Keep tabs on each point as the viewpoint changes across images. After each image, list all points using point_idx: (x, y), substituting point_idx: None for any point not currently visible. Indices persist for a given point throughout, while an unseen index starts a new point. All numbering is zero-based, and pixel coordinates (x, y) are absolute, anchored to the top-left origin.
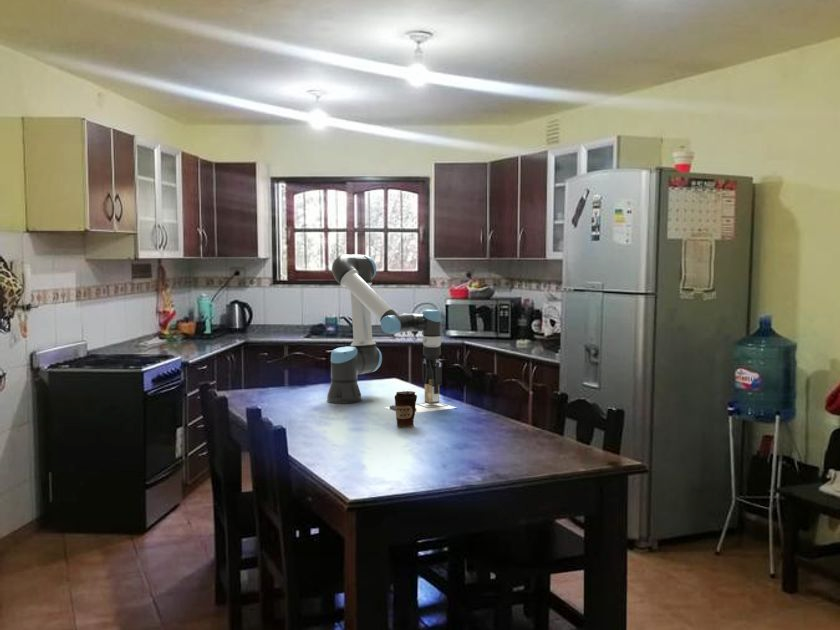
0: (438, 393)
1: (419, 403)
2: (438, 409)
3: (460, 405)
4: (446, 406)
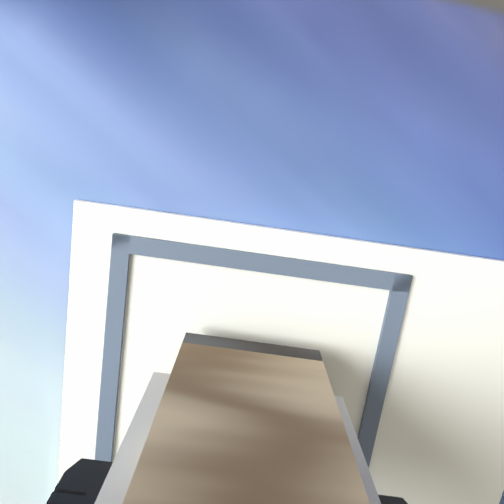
0: (340, 437)
1: (100, 452)
2: (481, 485)
3: (461, 97)
4: (422, 315)
